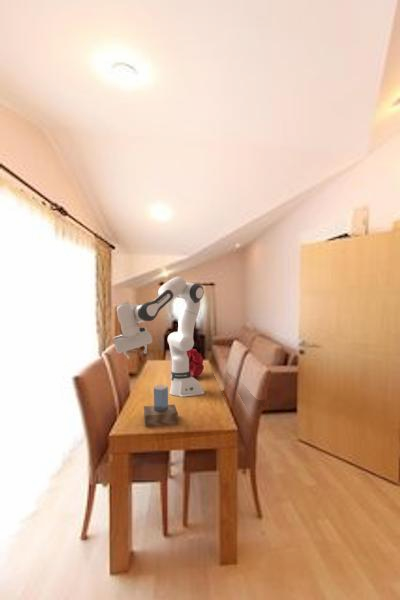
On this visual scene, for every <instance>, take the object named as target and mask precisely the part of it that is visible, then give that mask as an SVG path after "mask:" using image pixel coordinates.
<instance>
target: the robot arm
mask: <svg viewBox="0 0 400 600" xmlns="http://www.w3.org/2000/svg"><path fill="white" fill-rule="evenodd" d="M204 293H205V292H204V288H203V286H202V285H200V284H199V283H194V282H190V281H186V280H185V279H184V278H183V277H182V276H174V277H173V278H171V279H170V280H169V279H168V280H167V281H166V282H165V283H163V284H161V286H160V287H159V289H158V291H157V294H158V296H157V297H156V298H155V299H153V300H152V301H147V302H145V303H142V304H140V305H139V304H133V303H130V302H129V301H128V302H127V301H126V302H123V303H122V304H120V305H117V307H116V314H117V319H118V322H119V324H120V330H121V332H122V334H119V335H116V336H115V337H113V339H112V343H113V344H114V346H115V352H116V353H117V354H122V353H123V354H124V355H125V356H126V357H127V360H130V359H131V355H128V351H131V350H134V349H137V348H141V347H144V350H143V354H144V355H145V354H148V351H147V350H148V345H150V344H152V343H153V341H154V340H153V338H152V335H151V333H150V332H149V331H148V327H147V326H138V324H139V323H145V322H152V321H154V320H155V319H156V318H157V316H158V315H159V312H160V311H161V310H162V309H163V308H164V307H165V306H166V305H167V304H168V303H170V302H172V301H174V300H175V299H176V298H179V299H183V300H184V304H183V306H182V307H181V308H182V309H181V311H180V314H179V317H178V319H177V323H178V325H177V326H178V327H177V331H173V332H171V333H169V335H168V336H167V344H168V345H169V351H170V358H171V371H170V372H171V373H170V380H171V383H170V389H169V391H168V394H170V395H171V396H174V397H175V396H177V397H181V398H185V397H193V396H200V395H201V396H202V395H204V394H205V389H203V388H202V386H201V383H200V381H198V380H197V379H196V378H195V377H192V376H193V375H194V373H193V372H191V371H189V358H188V356H187V352H186V351H189V350H191V349H193V347H194V345H195V341H194V329H195V327H196V326H195V325H196V322H197V319H198V316H199V313H200V308H201V300H202V298H203V296H204Z"/></svg>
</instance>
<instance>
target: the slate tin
mask: <svg viewBox="0 0 400 600" xmlns="http://www.w3.org/2000/svg"><path fill="white" fill-rule="evenodd" d="M153 403H154V404H153V406H154V410H155V411H160V412H163V411H165V410H167V409H168V405H169V385H164V384H158V385H156V386H153Z"/></svg>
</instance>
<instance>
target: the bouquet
mask: <svg viewBox="0 0 400 600" xmlns="http://www.w3.org/2000/svg"><path fill="white" fill-rule="evenodd" d="M186 352H187V356H188V358H189V371H191V372H193V373H194V375H193V376H192V377H193V378H195V377H199V376H200V375H201V374H202V373H203V371H204V369H205V366H204V358H203V356H202V354H201V353H200V352H198V350H196V349H194V348H192V349H191V350H189V351H186Z"/></svg>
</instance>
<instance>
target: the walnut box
mask: <svg viewBox="0 0 400 600" xmlns="http://www.w3.org/2000/svg"><path fill="white" fill-rule="evenodd" d="M143 420H144V426H145V428H149V427H150V428H151V427H163V426H176V425H177V426H178V425H179V414H178V410H177V408H176V405H175V404H168V409H167V410H165V411H163V412H160V411H155V410H154V405H145V406H144V405H143Z"/></svg>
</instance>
